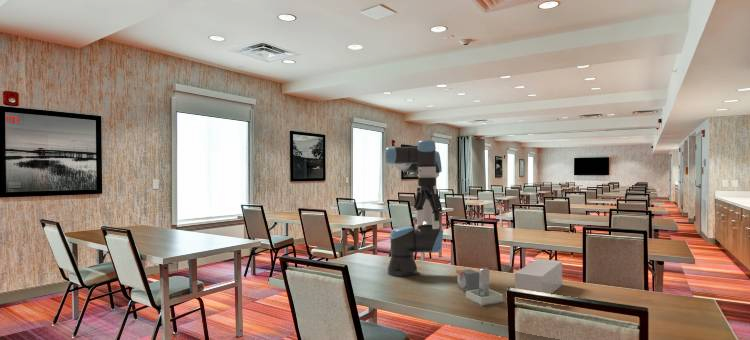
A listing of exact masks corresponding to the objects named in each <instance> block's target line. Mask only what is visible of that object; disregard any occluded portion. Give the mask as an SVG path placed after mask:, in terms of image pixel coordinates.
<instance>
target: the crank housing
mask: <svg viewBox="0 0 750 340" xmlns="http://www.w3.org/2000/svg"><path fill="white" fill-rule="evenodd" d="M455 273H457V284H458V289H459V290H461V291H463V292H465V293H466V291H470V290H477V289H479V271H476V270H474V269H470V268H469V269H461V270H460V269H456V270H455Z"/></svg>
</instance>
